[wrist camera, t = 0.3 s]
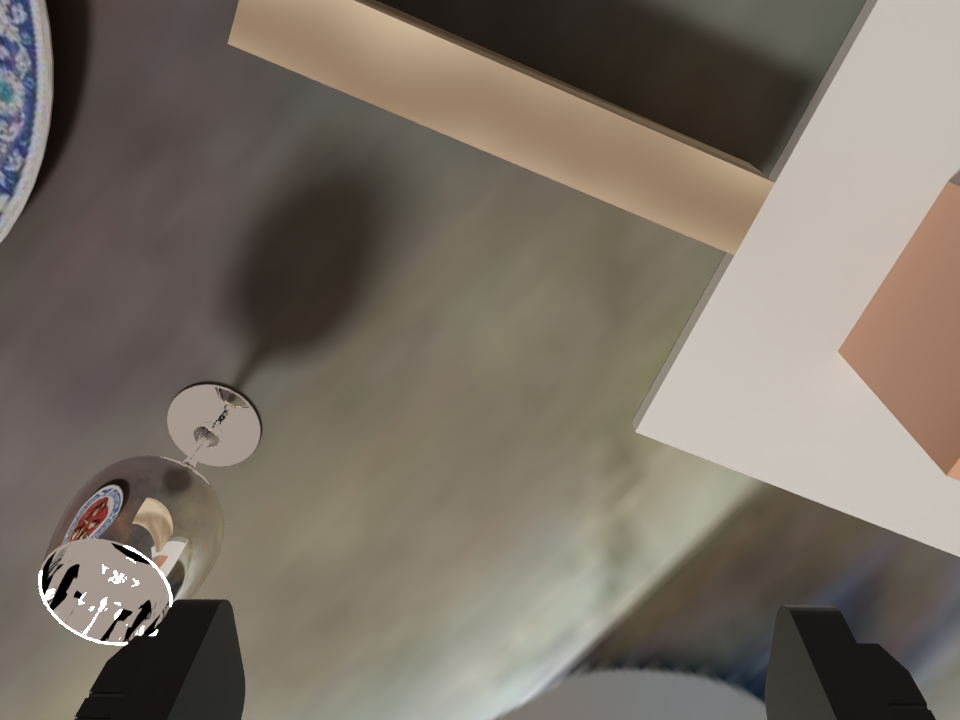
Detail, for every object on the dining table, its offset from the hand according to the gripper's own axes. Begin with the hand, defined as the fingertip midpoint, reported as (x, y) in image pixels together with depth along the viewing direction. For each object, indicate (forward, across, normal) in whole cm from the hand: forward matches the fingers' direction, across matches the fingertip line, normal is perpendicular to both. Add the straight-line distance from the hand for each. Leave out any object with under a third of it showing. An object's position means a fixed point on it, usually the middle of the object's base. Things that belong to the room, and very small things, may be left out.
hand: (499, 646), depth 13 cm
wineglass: (+26, +14, +10) cm, 31 cm away
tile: (+24, -17, +3) cm, 30 cm away
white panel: (+25, -19, +4) cm, 32 cm away
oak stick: (+26, 0, -4) cm, 26 cm away
